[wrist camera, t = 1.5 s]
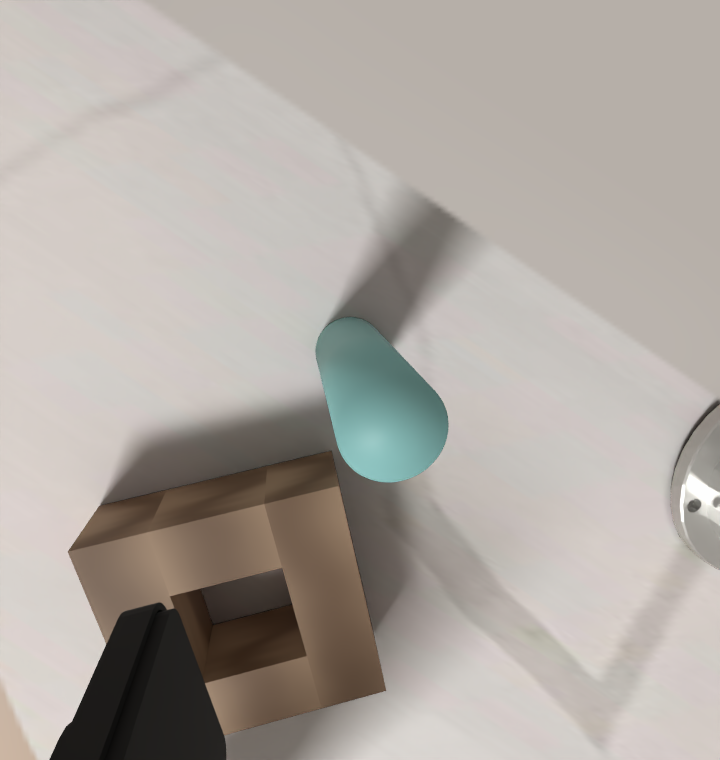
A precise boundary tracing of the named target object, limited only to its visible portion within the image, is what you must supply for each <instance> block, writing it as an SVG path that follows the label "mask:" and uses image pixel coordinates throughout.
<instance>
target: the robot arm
mask: <svg viewBox="0 0 720 760" xmlns="http://www.w3.org/2000/svg"><path fill="white" fill-rule="evenodd" d="M670 506H671V512H672V517H673V522H674V525H675V527H676V529H677V532H678V534H679V536H680V538H681V539H682V540H683V542H684V543H685V544H686V545H687V547H688V548H689V549H690V550H691V551H692V552H694V553H695V554H696V555H697V556H698V557H700V558H701V559H702V560H703V561H705V562H706V563H708V564H709V565H711V566H713V567H714V568H716V569H718V570H720V405H718V406H717V407H716V408H715V409H714V410H713V411H712V412H711V413H709V414H708V415H707V417H706V418H705V419H704V420H703V421H702V423H701V424H700V425H699V426H698V427H697V428H696V430H695V431H694V432H693V434H692V436H691V437H690V439H689V440H688V442H687V444H686V445H685V447H684V449H683V451H682V453H681V456H680V458H679V460H678V463H677V465H676V468H675V471H674V476H673V481H672V485H671V504H670ZM50 760H226V743H225V738H224V734H223V731H222V728H221V725H220V723H219V720H218V717H217V715H216V712H215V709H214V707H213V704H212V701H211V698H210V696H209V693H208V690H207V688H206V685H205V682H204V679H203V677H202V674H201V671H200V669H199V666H198V663H197V661H196V658H195V655H194V652H193V650H192V647H191V644H190V642H189V639H188V636H187V633H186V631H185V628H184V625H183V623H182V620H181V617H180V615H179V613H178V611H177V610H176V609H174V608H173V609H169V610H167V609H166V607H165V606H164V605H163V603H160V602H158V603H154V604H150V605H146V606H142V607H139V608H135V609H131V610H127V611H124V612H122V613H121V614H120V616H119V618H118V620H117V622H116V624H115V626H114V629H113V631H112V633H111V635H110V638H109V640H108V642H107V644H106V647H105V649H104V651H103V653H102V656H101V658H100V660H99V662H98V665H97V667H96V669H95V671H94V674H93V676H92V678H91V680H90V683H89V685H88V687H87V689H86V692H85V694H84V696H83V698H82V701H81V703H80V705H79V707H78V710H77V712H76V714H75V716H74V719H73V721H72V722H71V723H70V724H69V725H68V726H66V728H65V730H64V731H63V733H62V735H61V736H60V738H59V740H58V742H57V744H56V747H55V749H54V751H53V753H52V755H51V758H50Z"/></svg>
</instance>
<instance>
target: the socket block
mask: <svg viewBox="0 0 720 760" xmlns="http://www.w3.org/2000/svg"><path fill="white" fill-rule="evenodd" d="M68 553H69V556H70V558H71V560H72V563H73V565H74V568H75V570H76V572H77V575H78V577H79V580H80V582H81V584H82V587H83V589H84V592H85V594H86V596H87V599H88V601H89V604H90V606H91V608H92V611H93V613H94V615H95V618H96V620H97V623H98V625H99V627H100V630H101V632H102V635H103V637H104V639H105V642H106V644H107V642H108V640H109V638H110V635H111V633H112V631H113V629H114V626H115V624H116V622H117V620H118V618H119V616H120V614H121V613H122V612H124V611H127V610H131V609H135V608H139V607H142V606H146V605H150V604H154V603H158V602H160V603H163V605H164V606H165V607H166V609H167V610H169V609H173V608H174V609H176V610H177V611H178V613H179V615H180V617H181V620H182V623H183V625H184V628H185V631H186V633H187V636H188V639H189V642H190V644H191V647H192V650H193V652H194V655H195V658H196V661H197V663H198V666H199V669H200V671H201V674H202V677H203V679H204V682H205V685H206V688H207V690H208V693H209V696H210V698H211V701H212V704H213V707H214V709H215V712H216V715H217V717H218V720H219V723H220V725H221V728H222V731H223V734H224V735H227V734H230V733H234V732H238V731H241V730H245V729H249V728H252V727H256V726H259V725H263V724H267V723H270V722H274V721H278V720H281V719H285V718H288V717H292V716H296V715H299V714H303V713H307V712H310V711H314V710H318V709H321V708H325V707H328V706H332V705H336V704H339V703H343V702H347V701H350V700H354V699H357V698H361V697H365V696H368V695H372V694H376V693H379V692H383V691H386V688H385V684H384V679H383V675H382V670H381V665H380V661H379V656H378V652H377V647H376V643H375V638H374V633H373V629H372V625H371V620H370V616H369V612H368V607H367V603H366V599H365V594H364V590H363V586H362V581H361V577H360V573H359V568H358V564H357V560H356V555H355V551H354V547H353V542H352V538H351V534H350V529H349V525H348V521H347V516H346V512H345V508H344V503H343V499H342V494H341V490H340V486H339V481H338V477H337V473H336V468H335V464H334V460H333V455H332V451H328V452H324V453H320V454H316V455H311V456H307V457H303V458H299V459H295V460H290V461H286V462H282V463H278V464H274V465H269V466H265V467H261V468H257V469H253V470H248V471H244V472H240V473H236V474H231V475H227V476H223V477H219V478H215V479H210V480H206V481H202V482H198V483H194V484H189V485H185V486H181V487H177V488H173V489H168V490H164V491H160V492H156V493H151V494H147V495H143V496H139V497H135V498H130V499H126V500H122V501H118V502H114V503H109V504H105V505H101V506H99V507H98V509H97V510H96V512H95V513H94V515H93V516H92V517H91V519H90V520H89V522H88V523H87V525H86V526H85V528H84V529H83V531H82V532H81V533H80V535H79V536H78V538H77V539H76V541H75V542H74V544H73V545H72V546H71V548H70V549H69V551H68ZM280 568H282V569H283V573H284V576H285V580H286V584H287V587H288V591H289V594H290V598H291V601H292V605H289V606H285V607H281V608H277V609H273V610H270V611H266V612H262V613H258V614H254V615H250V616H246V617H242V618H239V619H235V620H231V621H227V622H223V623H219V624H215V625H213V624H212V621H211V618H210V616H209V613H208V610H207V607H206V604H205V601H204V598H203V595H202V592H201V588H205V587H209V586H213V585H217V584H220V583H224V582H228V581H232V580H236V579H240V578H244V577H248V576H252V575H256V574H260V573H264V572H268V571H272V570H276V569H280Z"/></svg>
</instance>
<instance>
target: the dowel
mask: <svg viewBox="0 0 720 760" xmlns="http://www.w3.org/2000/svg"><path fill="white" fill-rule="evenodd" d="M316 359H317V363H318V367H319V371H320V375H321V379H322V384H323V388H324V392H325V396H326V400H327V404H328V408H329V412H330V416H331V421H332V425H333V429H334V433H335V437H336V441H337V445H338V448H339V451H340V453H341V455H342V457H343V459H344V460H345V462H346V463H347V464H348V465H349V466H350V467H351V468H352V469H353V470H354V471H355V472H357V473H358V474H360V475H361V476H363V477H365V478H367V479H371V480H374V481H379V482H398V481H403V480H406V479H410V478H412V477H414V476H416V475H418V474H420V473H421V472H423V471H424V470H426V469H427V468H428V467H429V466H430V465H431V464H432V463H433V462H434V461H435V460H436V459H437V457H438V456H439V454H440V453H441V451H442V449H443V447H444V445H445V442H446V439H447V434H448V416H447V411H446V408H445V406H444V403H443V402H442V400H441V398H440V397H439V395H438V394H437V393H436V392H435V391H434V390H433V388H432V387H431V386H430V385H429V384H428V383H427V382H426V381H425V380H424V379H423V378H422V377H421V376H420V375H419V374H418V373H417V372H416V371H415V370H414V368H413V367H412V366H411V365H410V364H409V363H408V362H407V361H406V360H405V359H404V358H403V357H402V356H401V355H400V354H399V353H398V352H397V351H396V349H395V348H394V347H393V346H392V345H391V344H390V343H389V342H388V341H387V340H386V339H385V338H384V337H383V336H382V335H381V334H380V333H379V332H378V331H377V329H376V328H375V327H374V326H373V325H371V324H370V323H369V322H367V321H365V320H363V319H360V318H355V317H346V318H341V319H338V320H336V321H334V322H332V323H330V324H329V325H328V326H327V327H326V328H325V329H324V330H323V331H322V332H321V334H320V336H319V338H318V340H317V344H316Z"/></svg>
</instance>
